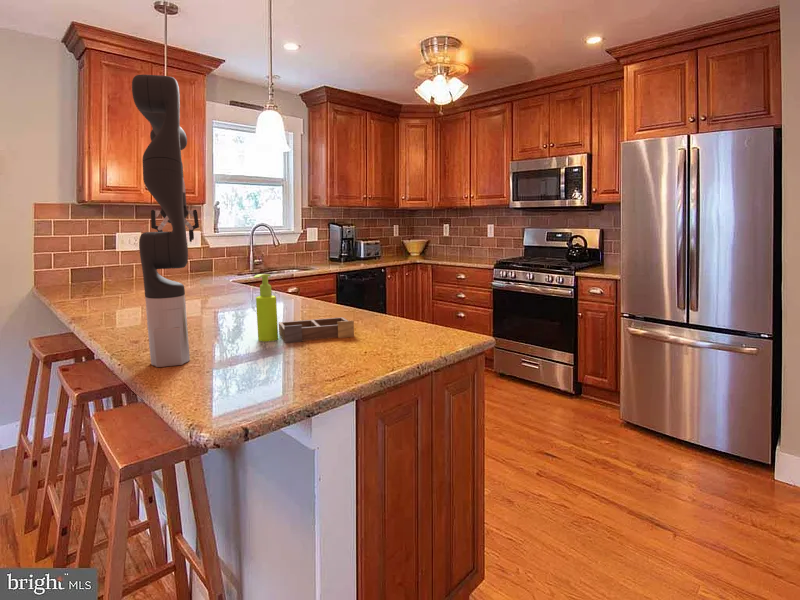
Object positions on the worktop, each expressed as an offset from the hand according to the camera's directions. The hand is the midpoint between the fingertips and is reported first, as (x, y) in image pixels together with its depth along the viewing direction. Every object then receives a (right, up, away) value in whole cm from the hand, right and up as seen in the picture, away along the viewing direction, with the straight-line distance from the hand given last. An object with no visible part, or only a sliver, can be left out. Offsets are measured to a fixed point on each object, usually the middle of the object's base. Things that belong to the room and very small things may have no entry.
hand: (176, 242), depth 169 cm
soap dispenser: (+33, -31, -12) cm, 47 cm away
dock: (+47, -30, -7) cm, 56 cm away
